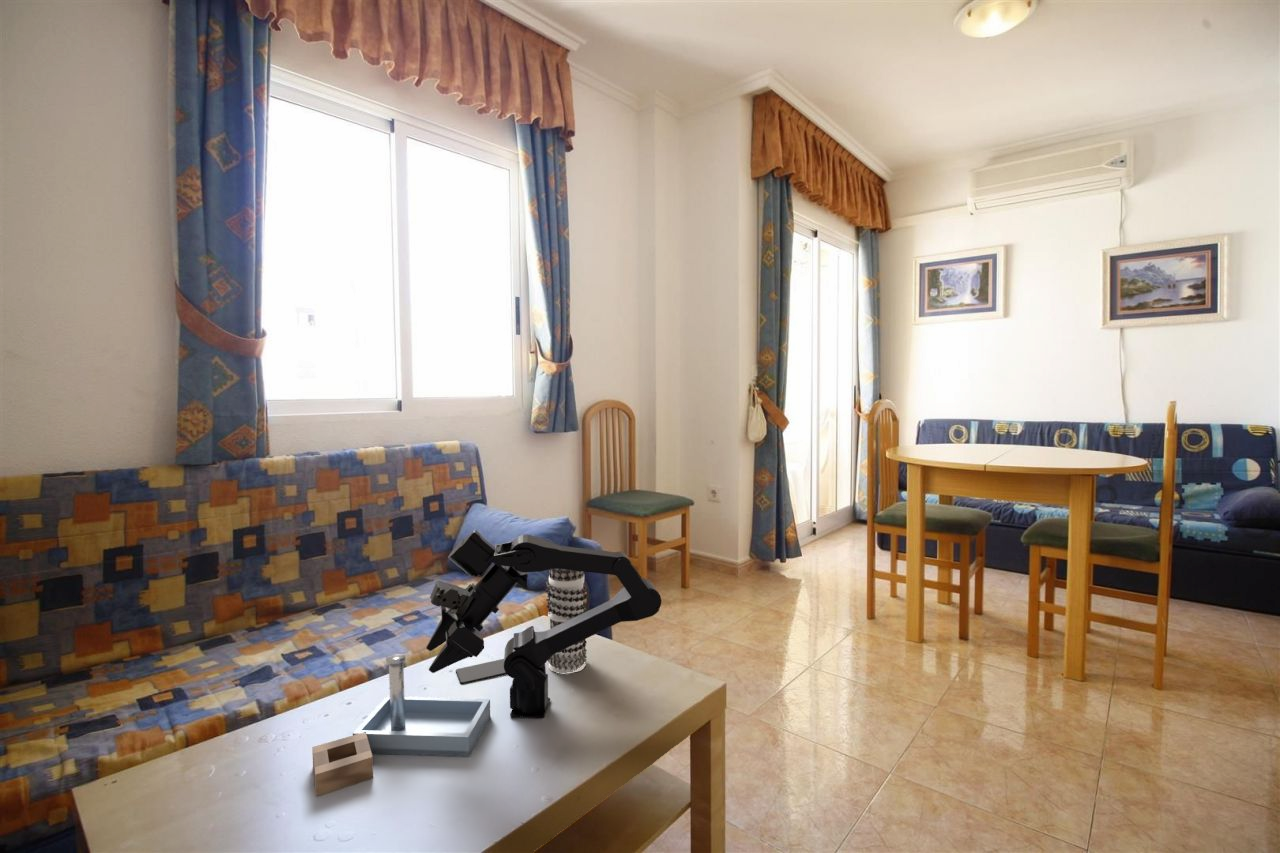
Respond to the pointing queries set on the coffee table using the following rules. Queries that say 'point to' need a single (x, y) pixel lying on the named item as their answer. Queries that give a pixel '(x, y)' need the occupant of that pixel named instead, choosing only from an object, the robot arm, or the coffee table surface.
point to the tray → (428, 726)
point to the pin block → (342, 763)
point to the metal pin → (397, 691)
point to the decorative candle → (566, 614)
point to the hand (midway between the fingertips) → (429, 660)
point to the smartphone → (481, 671)
